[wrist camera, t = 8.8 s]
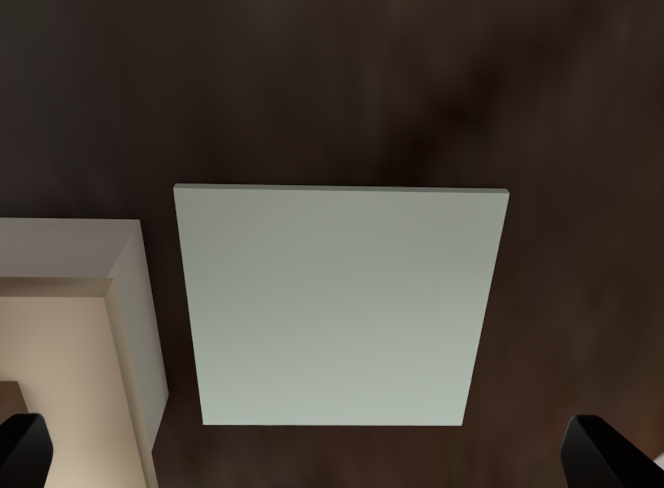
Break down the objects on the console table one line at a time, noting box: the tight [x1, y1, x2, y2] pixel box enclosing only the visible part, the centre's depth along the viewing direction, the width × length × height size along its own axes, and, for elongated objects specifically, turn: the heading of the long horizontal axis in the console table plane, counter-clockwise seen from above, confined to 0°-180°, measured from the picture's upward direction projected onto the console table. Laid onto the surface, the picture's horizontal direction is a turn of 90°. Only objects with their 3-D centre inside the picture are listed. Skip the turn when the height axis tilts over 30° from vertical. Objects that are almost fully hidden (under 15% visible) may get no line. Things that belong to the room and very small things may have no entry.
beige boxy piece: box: [0, 218, 169, 451], centre depth 21 cm, size 9×9×4 cm
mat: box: [173, 183, 510, 425], centre depth 23 cm, size 12×12×1 cm
